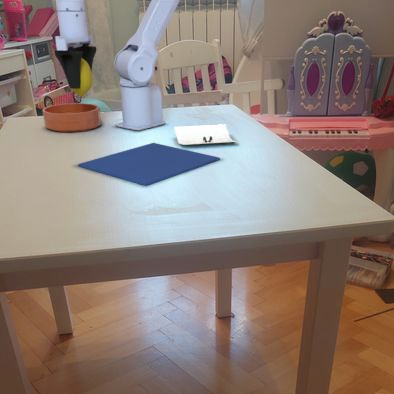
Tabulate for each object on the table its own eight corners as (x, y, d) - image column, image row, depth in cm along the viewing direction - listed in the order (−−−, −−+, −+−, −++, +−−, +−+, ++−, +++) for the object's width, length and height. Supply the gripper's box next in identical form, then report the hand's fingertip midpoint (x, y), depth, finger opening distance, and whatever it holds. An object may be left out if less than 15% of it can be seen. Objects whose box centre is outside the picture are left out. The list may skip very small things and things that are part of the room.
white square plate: (183, 150, 100) (182, 140, 99) (174, 136, 110) (174, 126, 109) (240, 147, 102) (240, 137, 101) (226, 133, 112) (226, 124, 111)
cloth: (153, 144, 104) (153, 142, 104) (219, 159, 95) (219, 157, 95) (78, 166, 92) (78, 164, 92) (145, 186, 83) (145, 183, 82)
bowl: (78, 118, 126) (76, 101, 124) (112, 125, 119) (110, 107, 117) (34, 127, 118) (31, 109, 116) (68, 136, 111) (65, 116, 109)
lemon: (97, 95, 111) (92, 53, 107) (90, 99, 107) (85, 56, 102) (73, 94, 112) (68, 53, 107) (65, 98, 107) (59, 56, 103)
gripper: (67, 9, 106) (76, 80, 114) (36, 11, 95) (49, 90, 103) (98, 10, 105) (105, 81, 113) (71, 12, 94) (80, 91, 102)
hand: (80, 86), depth 108 cm, fingers closed on lemon, 5 cm apart
